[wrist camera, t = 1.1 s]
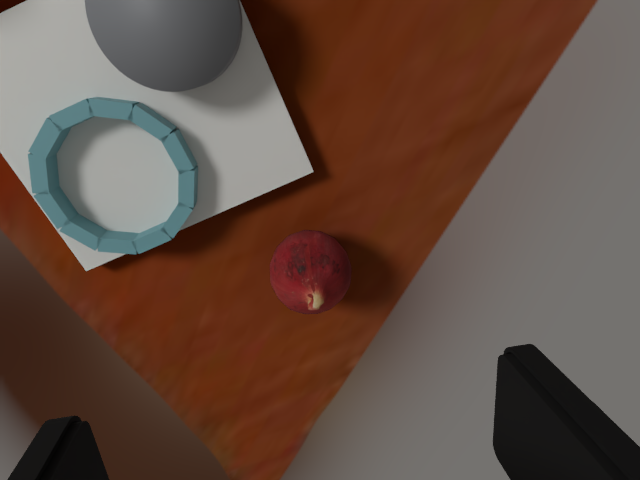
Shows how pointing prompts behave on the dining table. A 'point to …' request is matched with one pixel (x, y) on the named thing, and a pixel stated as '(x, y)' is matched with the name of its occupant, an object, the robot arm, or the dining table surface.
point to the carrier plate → (124, 147)
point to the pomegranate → (310, 272)
